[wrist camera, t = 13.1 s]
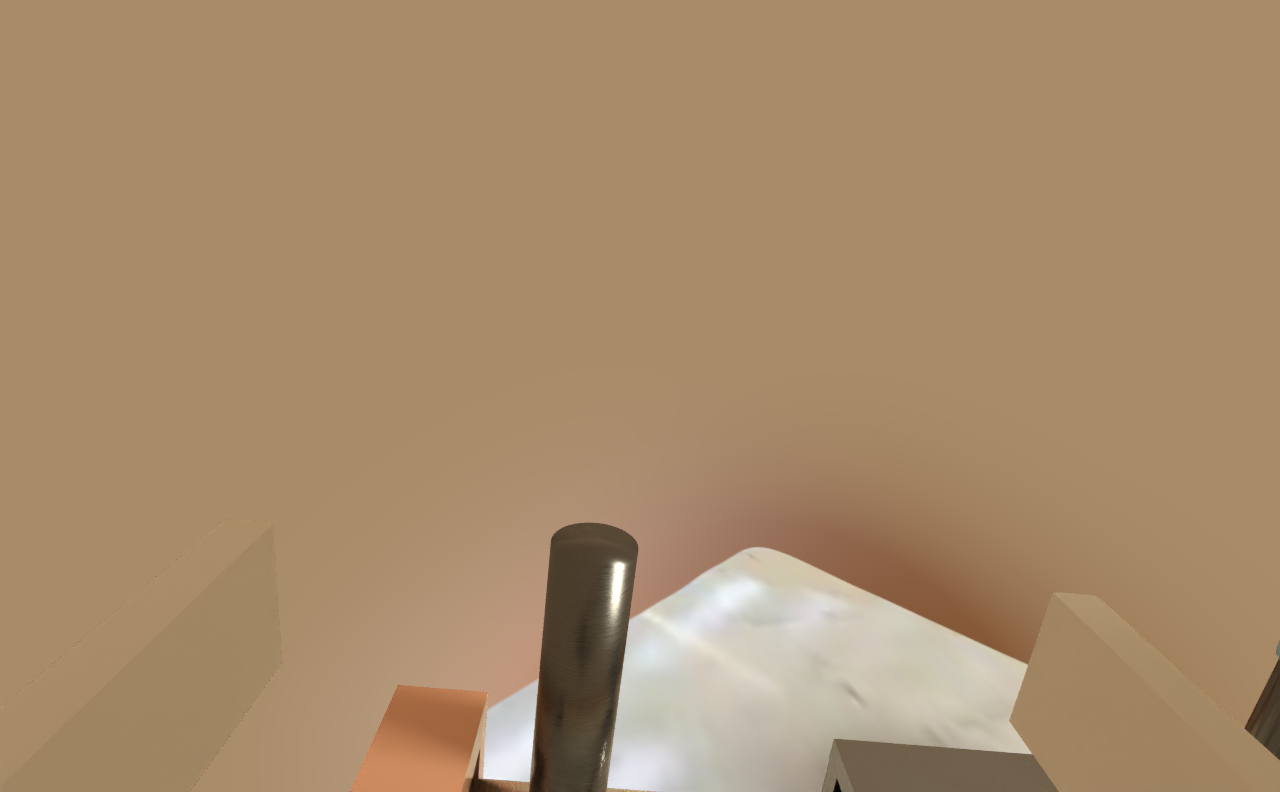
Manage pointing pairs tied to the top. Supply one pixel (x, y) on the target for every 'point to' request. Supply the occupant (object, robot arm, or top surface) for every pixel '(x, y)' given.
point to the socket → (427, 742)
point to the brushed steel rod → (579, 661)
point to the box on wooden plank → (930, 769)
